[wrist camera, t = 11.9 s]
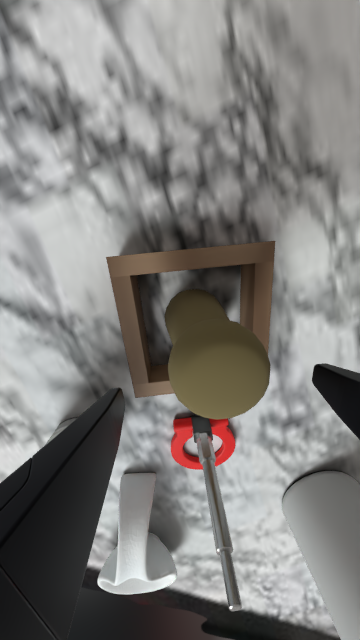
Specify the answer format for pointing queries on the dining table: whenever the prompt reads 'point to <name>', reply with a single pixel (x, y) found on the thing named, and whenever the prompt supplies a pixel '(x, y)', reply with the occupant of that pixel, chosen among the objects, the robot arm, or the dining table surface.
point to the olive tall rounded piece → (213, 358)
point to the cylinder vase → (330, 541)
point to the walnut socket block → (127, 267)
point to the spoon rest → (137, 543)
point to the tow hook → (211, 484)
